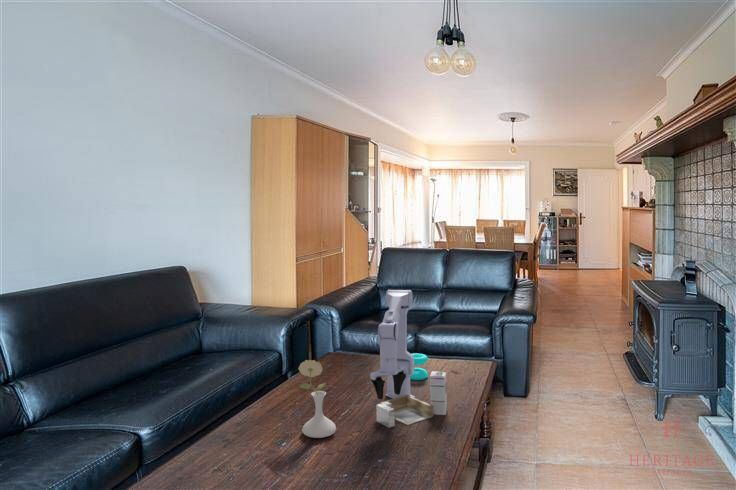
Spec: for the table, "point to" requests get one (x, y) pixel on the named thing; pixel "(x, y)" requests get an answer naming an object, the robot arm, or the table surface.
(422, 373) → the donuts
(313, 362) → the flower in vase
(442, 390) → the syrup box
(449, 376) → the table surface
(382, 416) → the bracket
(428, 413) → the arena
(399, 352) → the robot arm
